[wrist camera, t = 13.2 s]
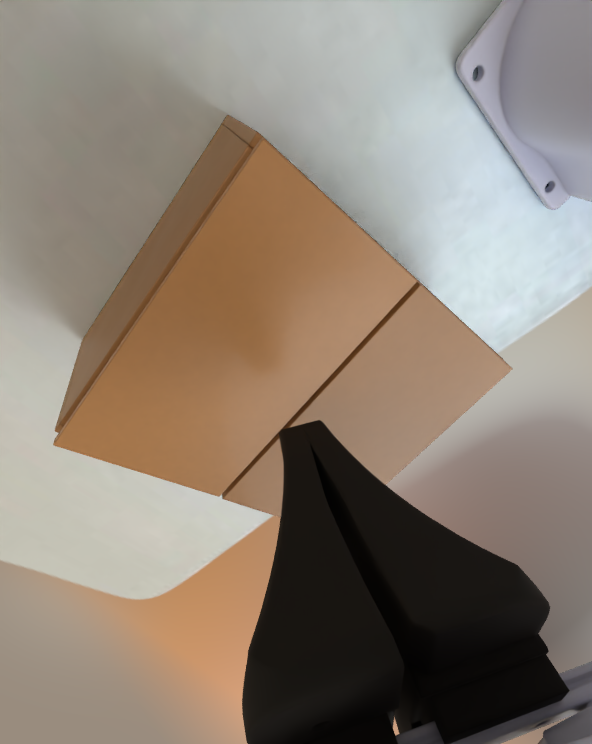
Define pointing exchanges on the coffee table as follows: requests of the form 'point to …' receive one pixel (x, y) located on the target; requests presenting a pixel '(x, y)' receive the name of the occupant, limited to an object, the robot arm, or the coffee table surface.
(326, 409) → the carton
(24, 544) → the coffee table surface
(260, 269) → the flap
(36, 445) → the coffee table surface
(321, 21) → the coffee table surface
